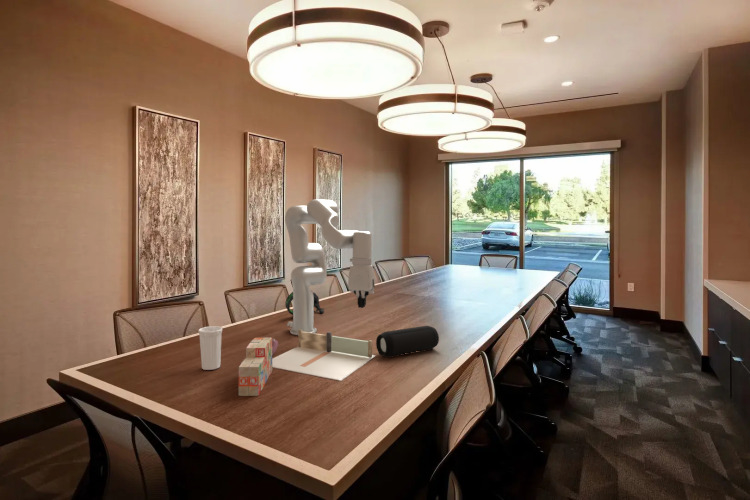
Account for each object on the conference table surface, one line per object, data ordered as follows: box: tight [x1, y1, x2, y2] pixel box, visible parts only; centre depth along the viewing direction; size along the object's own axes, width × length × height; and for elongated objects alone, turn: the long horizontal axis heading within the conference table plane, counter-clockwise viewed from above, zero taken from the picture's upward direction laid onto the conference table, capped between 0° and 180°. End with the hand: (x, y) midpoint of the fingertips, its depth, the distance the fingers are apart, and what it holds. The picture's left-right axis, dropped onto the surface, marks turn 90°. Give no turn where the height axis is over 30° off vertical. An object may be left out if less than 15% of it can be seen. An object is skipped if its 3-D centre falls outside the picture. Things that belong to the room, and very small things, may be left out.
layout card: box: [272, 346, 376, 382], centre depth 158 cm, size 34×28×1 cm
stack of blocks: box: [238, 337, 273, 397], centre depth 136 cm, size 21×6×12 cm, turn 3°
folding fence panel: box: [331, 335, 373, 358], centre depth 163 cm, size 18×2×6 cm, turn 66°
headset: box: [284, 289, 325, 316], centre depth 228 cm, size 16×12×27 cm
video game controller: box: [263, 336, 280, 356], centre depth 167 cm, size 10×5×7 cm, turn 71°
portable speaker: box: [375, 325, 440, 358], centre depth 168 cm, size 26×10×10 cm, turn 120°
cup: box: [197, 325, 223, 371], centre depth 148 cm, size 8×8×14 cm
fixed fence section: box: [297, 329, 333, 352], centre depth 170 cm, size 16×2×8 cm, turn 66°
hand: (361, 307), depth 166 cm, fingers closed
